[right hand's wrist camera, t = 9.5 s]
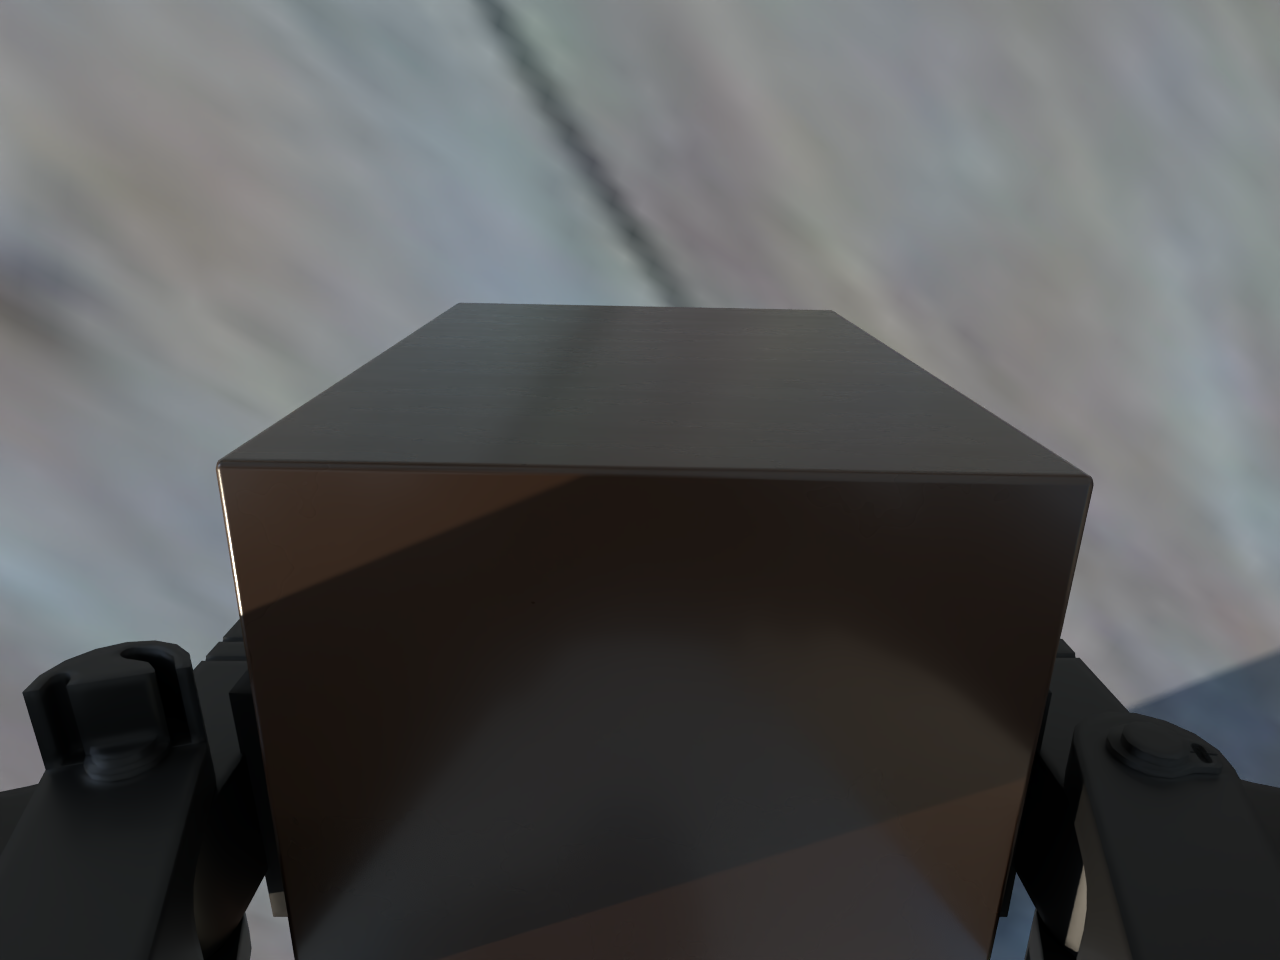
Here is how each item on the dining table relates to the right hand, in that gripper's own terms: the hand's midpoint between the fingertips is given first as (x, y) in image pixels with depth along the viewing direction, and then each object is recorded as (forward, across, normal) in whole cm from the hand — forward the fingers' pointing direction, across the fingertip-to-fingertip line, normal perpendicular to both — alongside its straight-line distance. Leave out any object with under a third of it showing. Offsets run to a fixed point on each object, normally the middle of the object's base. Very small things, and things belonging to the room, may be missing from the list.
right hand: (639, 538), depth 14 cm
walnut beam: (0, 0, -14) cm, 14 cm away
